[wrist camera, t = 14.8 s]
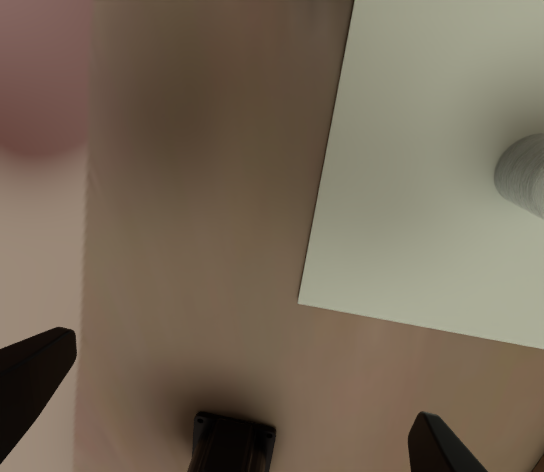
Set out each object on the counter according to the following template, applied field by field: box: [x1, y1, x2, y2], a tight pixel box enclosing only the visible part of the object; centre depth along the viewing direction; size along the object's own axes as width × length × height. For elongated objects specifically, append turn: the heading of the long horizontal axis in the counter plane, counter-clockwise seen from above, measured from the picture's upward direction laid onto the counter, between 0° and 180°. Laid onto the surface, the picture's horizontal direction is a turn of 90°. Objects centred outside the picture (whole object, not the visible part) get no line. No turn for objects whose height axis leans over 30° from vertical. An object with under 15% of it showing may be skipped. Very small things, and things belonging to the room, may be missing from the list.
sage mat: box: [298, 0, 544, 349], centre depth 16 cm, size 20×20×1 cm
